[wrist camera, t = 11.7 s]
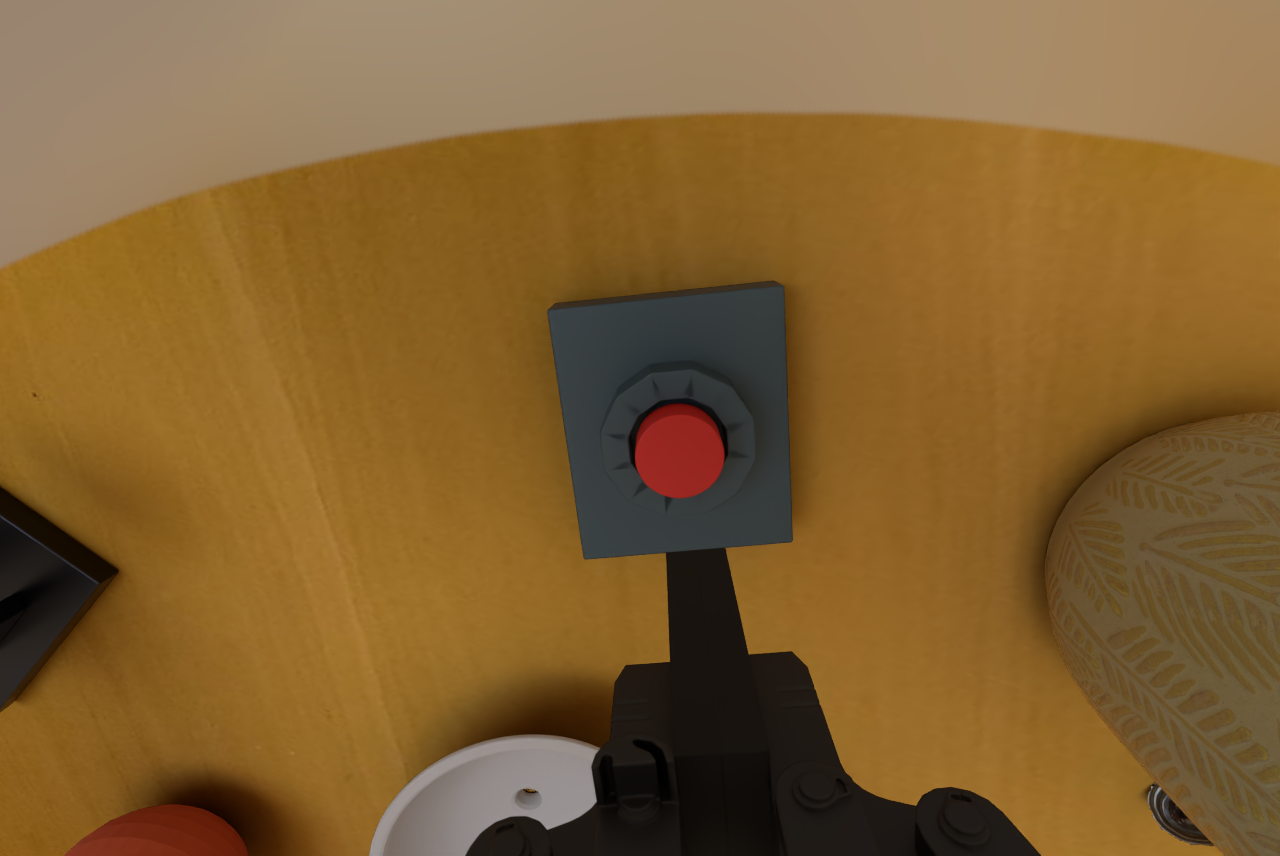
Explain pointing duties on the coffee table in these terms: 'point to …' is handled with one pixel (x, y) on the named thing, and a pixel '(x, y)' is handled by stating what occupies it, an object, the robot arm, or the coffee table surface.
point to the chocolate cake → (1174, 818)
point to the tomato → (163, 834)
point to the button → (679, 451)
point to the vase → (1183, 617)
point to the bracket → (39, 592)
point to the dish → (487, 794)
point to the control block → (666, 374)
